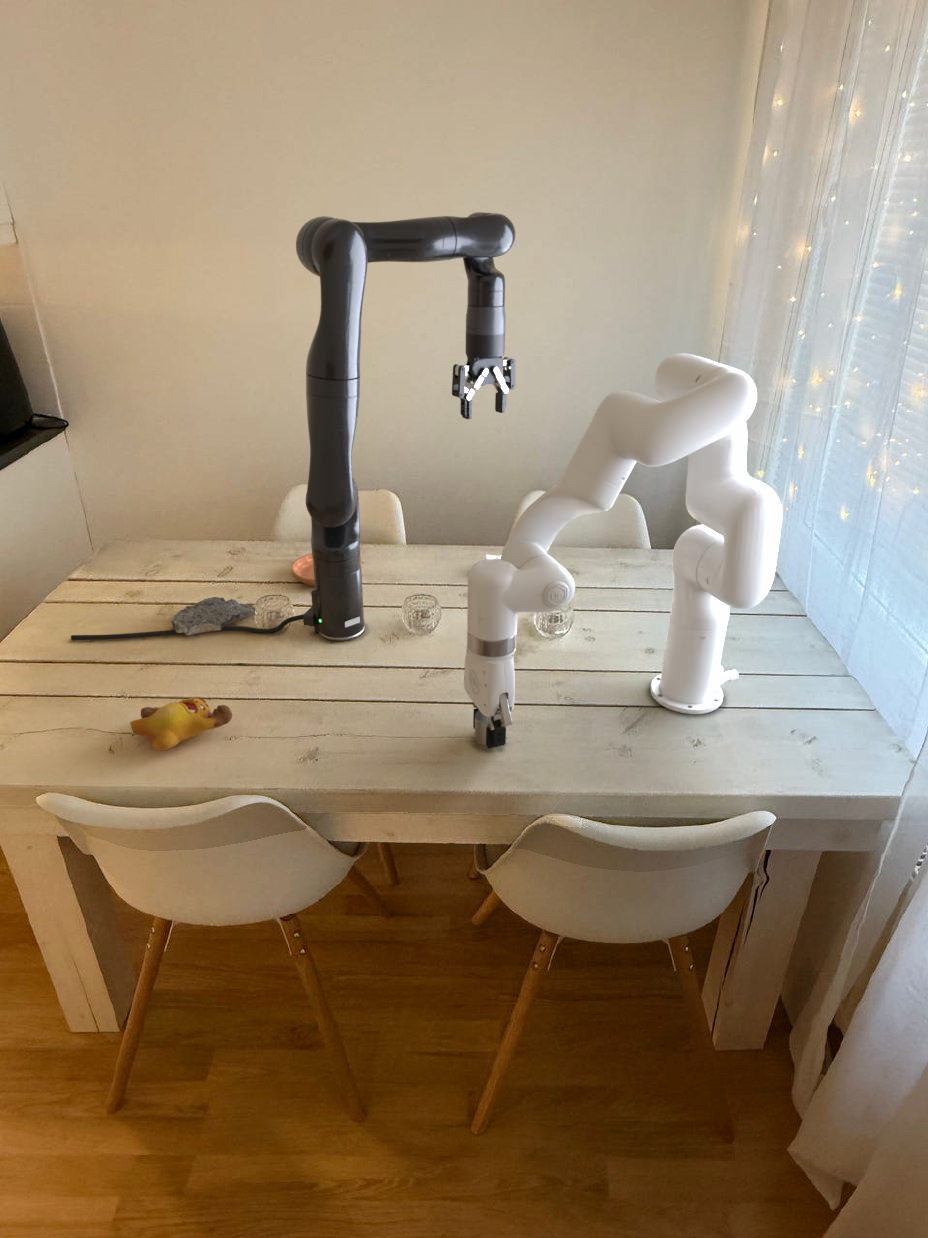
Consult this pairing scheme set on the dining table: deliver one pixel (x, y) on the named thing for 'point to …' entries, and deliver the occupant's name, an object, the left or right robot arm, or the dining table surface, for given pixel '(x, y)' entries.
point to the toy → (179, 721)
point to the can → (482, 727)
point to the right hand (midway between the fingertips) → (489, 735)
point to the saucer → (304, 570)
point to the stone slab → (210, 615)
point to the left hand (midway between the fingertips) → (483, 415)
